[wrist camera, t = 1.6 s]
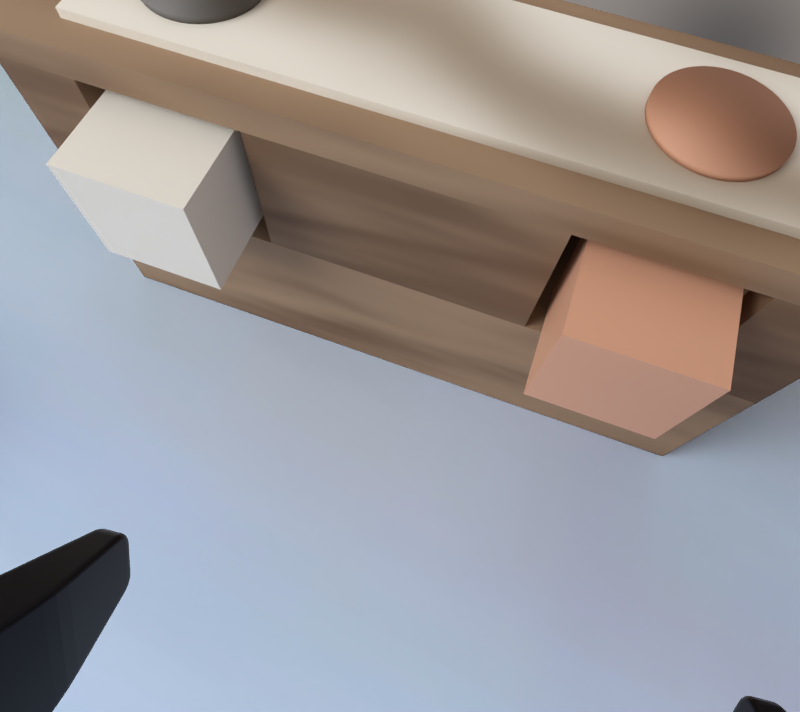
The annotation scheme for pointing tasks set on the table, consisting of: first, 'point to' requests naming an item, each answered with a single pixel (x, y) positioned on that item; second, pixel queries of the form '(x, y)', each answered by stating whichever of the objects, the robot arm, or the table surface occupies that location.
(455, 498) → the table surface
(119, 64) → the wooden stand
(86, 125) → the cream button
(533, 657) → the table surface
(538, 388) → the salmon pink cube
